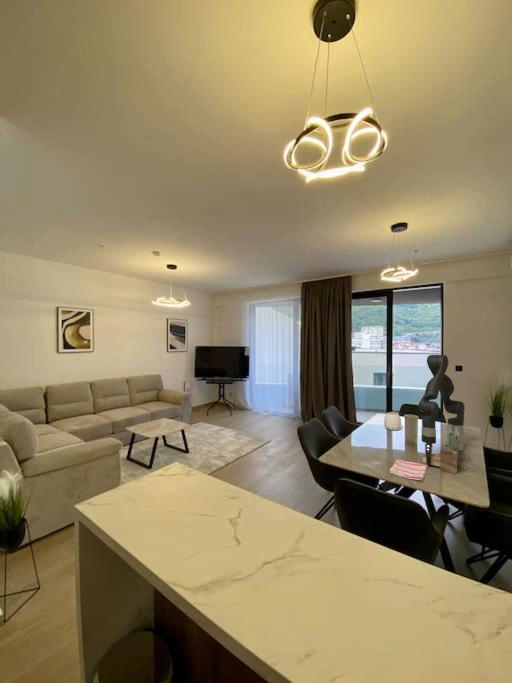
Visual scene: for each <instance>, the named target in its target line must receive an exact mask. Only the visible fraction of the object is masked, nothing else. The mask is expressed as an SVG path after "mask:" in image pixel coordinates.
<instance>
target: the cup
mask: <svg viewBox="0 0 512 683" xmlns="http://www.w3.org/2000/svg"><path fill="white" fill-rule="evenodd" d="M383 425H384V427H385V428H386V429H387V430H390V431H398V430H400V429H401V428H402V418H401V416H400V414H399V413H398V412H393V411H391V412H386V414H385V416H384V419H383Z"/></svg>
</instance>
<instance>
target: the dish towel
mask: <svg viewBox="0 0 512 683" xmlns="http://www.w3.org/2000/svg"><path fill="white" fill-rule="evenodd" d="M428 468H429V464H424V463H418V462H412V461H406V460H402V459H400V458H399V459H396V460H395V462H394V463H393V465H392V467H390V468H389V474H390V475H393V476H396V477H400V478H405V479H409V480H414V481H418V482H423V480H424V479H425V478H426V477H425V476H426V475H427V472H428Z"/></svg>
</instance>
